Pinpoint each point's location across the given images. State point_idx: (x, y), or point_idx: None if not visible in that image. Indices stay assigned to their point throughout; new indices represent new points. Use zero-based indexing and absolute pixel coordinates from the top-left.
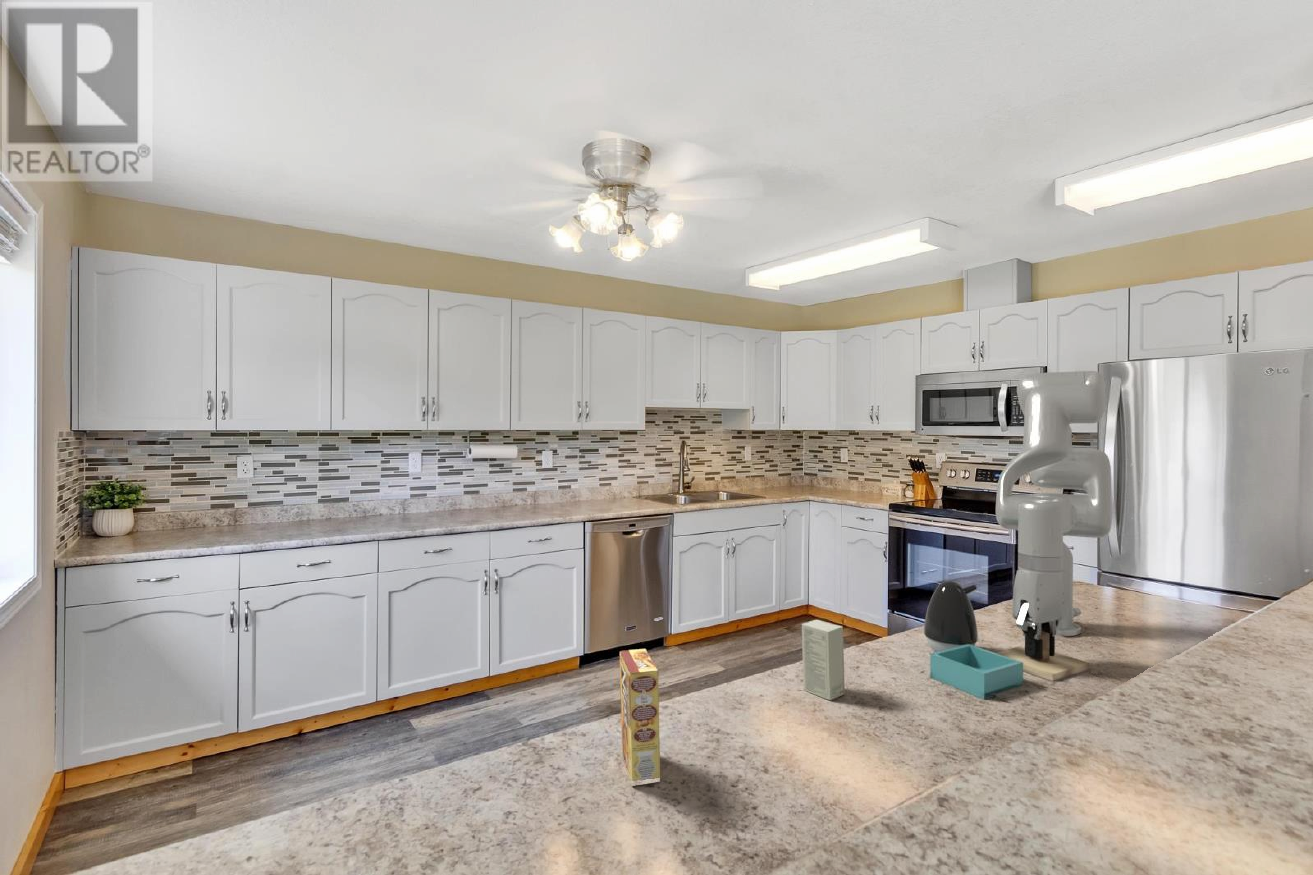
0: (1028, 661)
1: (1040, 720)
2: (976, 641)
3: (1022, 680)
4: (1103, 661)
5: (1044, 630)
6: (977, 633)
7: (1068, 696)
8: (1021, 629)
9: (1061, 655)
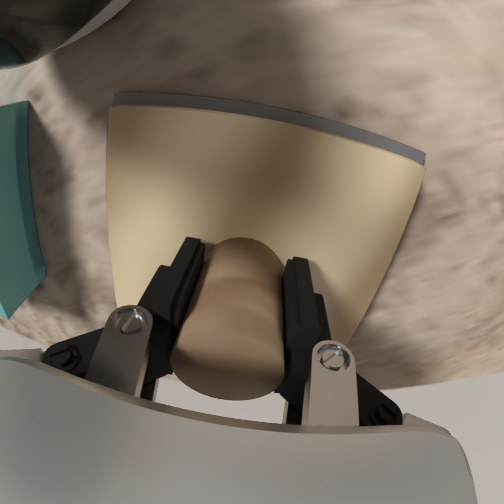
0: (157, 256)
1: (3, 326)
2: (47, 52)
3: (34, 286)
4: (434, 343)
5: (295, 381)
6: (42, 32)
7: None
8: (55, 344)
9: (351, 311)
